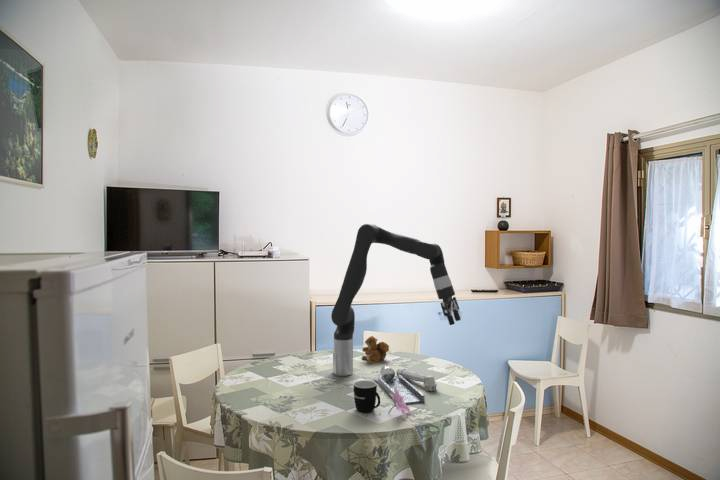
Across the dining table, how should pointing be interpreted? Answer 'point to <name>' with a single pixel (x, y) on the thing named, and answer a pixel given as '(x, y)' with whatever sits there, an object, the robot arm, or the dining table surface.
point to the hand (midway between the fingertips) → (455, 322)
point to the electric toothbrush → (418, 378)
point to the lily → (399, 403)
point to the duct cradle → (399, 386)
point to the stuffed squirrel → (375, 350)
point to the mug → (365, 396)
